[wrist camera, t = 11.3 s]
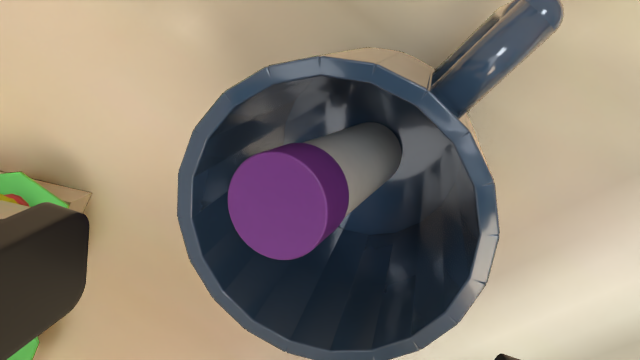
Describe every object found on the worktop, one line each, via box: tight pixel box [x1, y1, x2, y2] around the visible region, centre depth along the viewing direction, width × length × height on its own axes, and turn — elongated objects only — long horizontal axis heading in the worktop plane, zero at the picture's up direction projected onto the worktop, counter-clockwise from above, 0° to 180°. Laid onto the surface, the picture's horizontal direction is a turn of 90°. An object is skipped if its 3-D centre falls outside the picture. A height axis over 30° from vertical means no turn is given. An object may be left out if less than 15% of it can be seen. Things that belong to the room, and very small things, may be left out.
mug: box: [177, 0, 564, 360], centre depth 17 cm, size 13×9×10 cm
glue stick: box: [228, 122, 401, 260], centre depth 17 cm, size 3×3×9 cm
